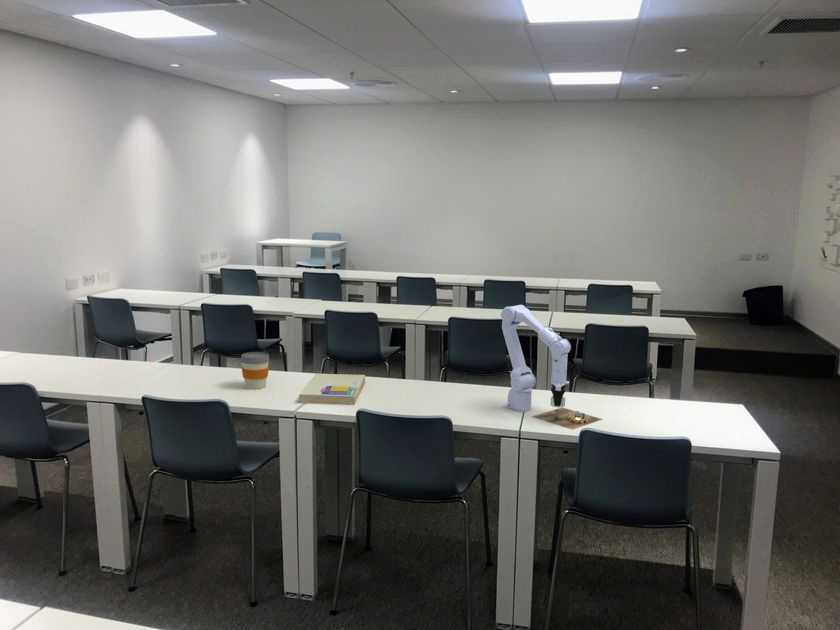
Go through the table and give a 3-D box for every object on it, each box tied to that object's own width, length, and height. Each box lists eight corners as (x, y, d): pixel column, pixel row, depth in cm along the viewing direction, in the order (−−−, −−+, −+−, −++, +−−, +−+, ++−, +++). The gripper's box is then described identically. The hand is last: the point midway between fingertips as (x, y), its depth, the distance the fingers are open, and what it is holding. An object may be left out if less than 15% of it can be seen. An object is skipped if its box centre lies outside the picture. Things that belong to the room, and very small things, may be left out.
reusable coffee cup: (271, 383, 316) (271, 351, 314) (267, 390, 304) (266, 358, 302) (244, 383, 316) (243, 351, 313) (238, 390, 303) (238, 358, 301)
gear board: (531, 418, 272) (531, 407, 271) (561, 409, 285) (562, 399, 284) (572, 432, 257) (573, 420, 256) (602, 421, 270) (603, 410, 269)
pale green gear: (547, 405, 269) (548, 397, 269) (556, 402, 273) (556, 394, 272) (559, 408, 265) (559, 400, 264) (567, 405, 269) (568, 398, 268)
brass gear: (561, 419, 268) (561, 411, 268) (574, 415, 274) (575, 407, 274) (580, 425, 262) (580, 416, 261) (593, 421, 268) (594, 412, 267)
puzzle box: (365, 384, 321) (315, 382, 322) (366, 374, 320) (315, 372, 321) (354, 407, 285) (297, 404, 287) (354, 396, 285) (297, 394, 286)
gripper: (569, 375, 259) (567, 409, 261) (569, 366, 273) (568, 399, 275) (550, 374, 260) (549, 408, 262) (552, 365, 274) (550, 398, 276)
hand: (557, 403), depth 269 cm, fingers closed on pale green gear, 6 cm apart
